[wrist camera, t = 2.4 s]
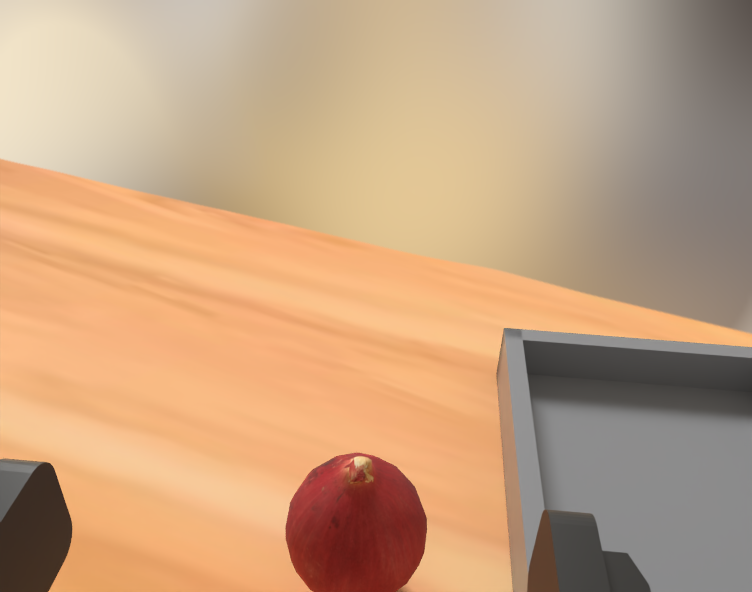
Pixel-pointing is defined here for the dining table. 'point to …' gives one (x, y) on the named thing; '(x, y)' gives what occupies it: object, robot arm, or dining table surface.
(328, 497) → the onion
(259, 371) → the dining table surface
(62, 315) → the dining table surface
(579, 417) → the tray
